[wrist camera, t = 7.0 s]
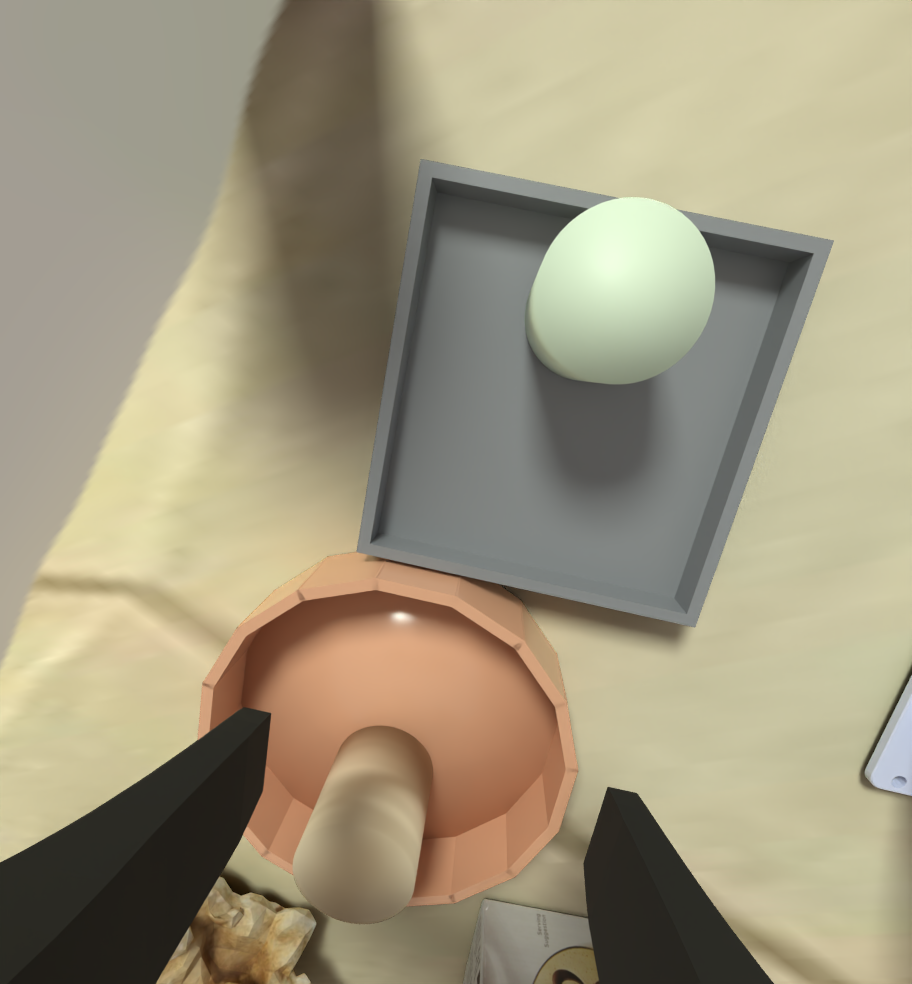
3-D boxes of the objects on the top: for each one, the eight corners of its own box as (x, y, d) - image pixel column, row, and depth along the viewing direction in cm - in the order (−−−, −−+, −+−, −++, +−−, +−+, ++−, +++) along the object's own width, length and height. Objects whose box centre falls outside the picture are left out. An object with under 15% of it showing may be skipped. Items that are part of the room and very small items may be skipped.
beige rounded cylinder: (442, 739, 20) (426, 843, 15) (421, 818, 21) (401, 936, 16) (345, 714, 20) (302, 810, 16) (329, 794, 21) (284, 905, 17)
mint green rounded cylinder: (670, 261, 15) (740, 217, 11) (632, 392, 16) (683, 400, 12) (541, 235, 15) (559, 181, 11) (511, 367, 16) (517, 365, 12)
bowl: (602, 591, 18) (622, 632, 16) (520, 865, 22) (523, 941, 19) (258, 515, 19) (214, 541, 16) (227, 795, 22) (187, 859, 19)
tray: (795, 255, 15) (834, 240, 14) (676, 603, 18) (695, 627, 17) (429, 182, 16) (421, 158, 14) (369, 535, 19) (356, 552, 17)
